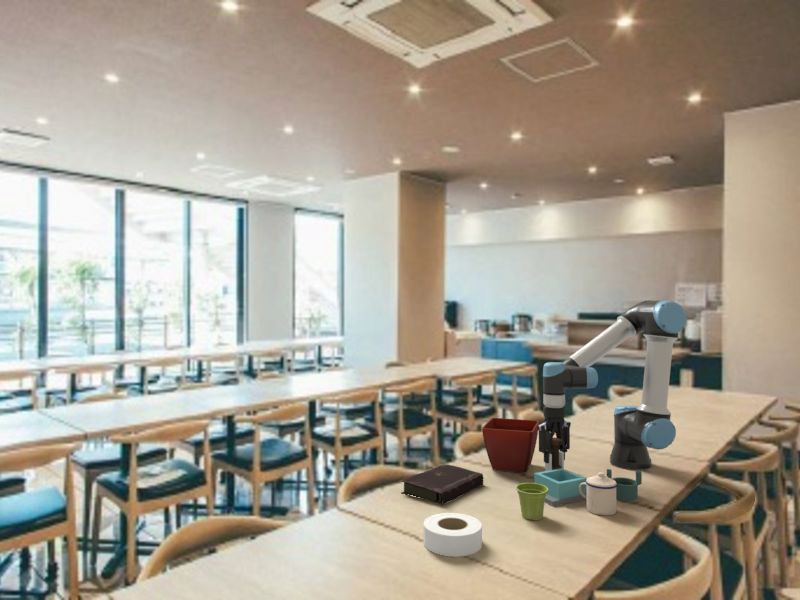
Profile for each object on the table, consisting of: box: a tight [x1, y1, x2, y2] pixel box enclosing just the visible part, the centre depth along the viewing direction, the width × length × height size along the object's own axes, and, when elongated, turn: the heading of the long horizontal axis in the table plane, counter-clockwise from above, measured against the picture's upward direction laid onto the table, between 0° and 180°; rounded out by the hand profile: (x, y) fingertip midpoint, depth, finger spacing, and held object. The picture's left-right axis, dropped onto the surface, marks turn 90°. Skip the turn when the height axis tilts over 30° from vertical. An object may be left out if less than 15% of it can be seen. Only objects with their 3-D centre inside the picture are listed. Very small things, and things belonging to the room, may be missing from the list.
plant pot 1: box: [481, 417, 540, 474], centre depth 213 cm, size 19×19×17 cm
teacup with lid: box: [579, 471, 617, 517], centre depth 170 cm, size 12×9×12 cm
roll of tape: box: [423, 512, 483, 558], centre depth 148 cm, size 16×16×6 cm
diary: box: [399, 463, 484, 506], centre depth 189 cm, size 19×25×5 cm
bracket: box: [606, 468, 643, 502], centre depth 181 cm, size 9×9×9 cm
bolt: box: [550, 437, 563, 470], centre depth 197 cm, size 6×5×15 cm
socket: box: [533, 468, 588, 507], centre depth 183 cm, size 18×13×6 cm
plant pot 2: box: [515, 482, 548, 521], centre depth 165 cm, size 9×9×9 cm
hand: (554, 470), depth 197 cm, fingers closed on bolt, 5 cm apart
